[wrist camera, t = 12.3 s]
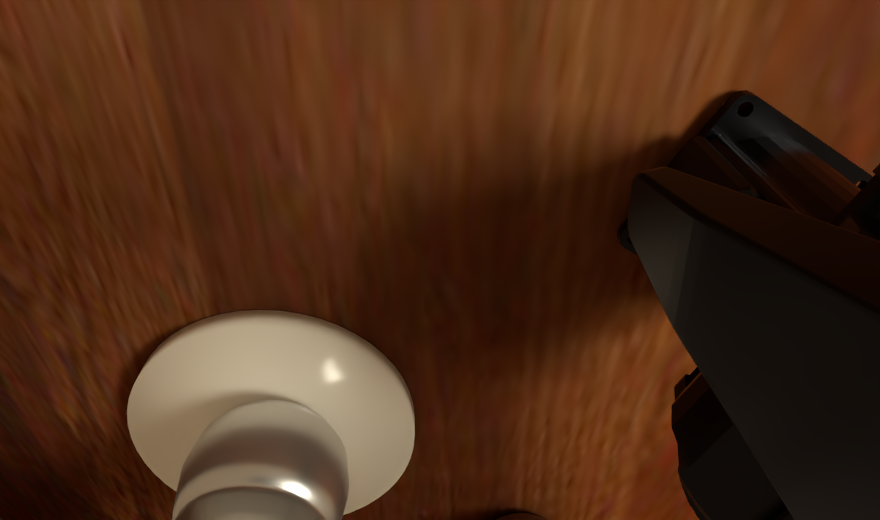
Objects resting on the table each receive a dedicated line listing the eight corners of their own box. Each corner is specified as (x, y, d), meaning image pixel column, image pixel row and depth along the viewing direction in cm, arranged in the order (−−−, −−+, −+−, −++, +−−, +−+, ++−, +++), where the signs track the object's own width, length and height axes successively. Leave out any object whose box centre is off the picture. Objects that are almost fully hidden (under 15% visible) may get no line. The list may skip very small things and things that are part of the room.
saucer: (466, 380, 27) (467, 396, 27) (341, 532, 33) (338, 550, 32) (191, 262, 24) (183, 277, 23) (101, 454, 29) (92, 472, 28)
